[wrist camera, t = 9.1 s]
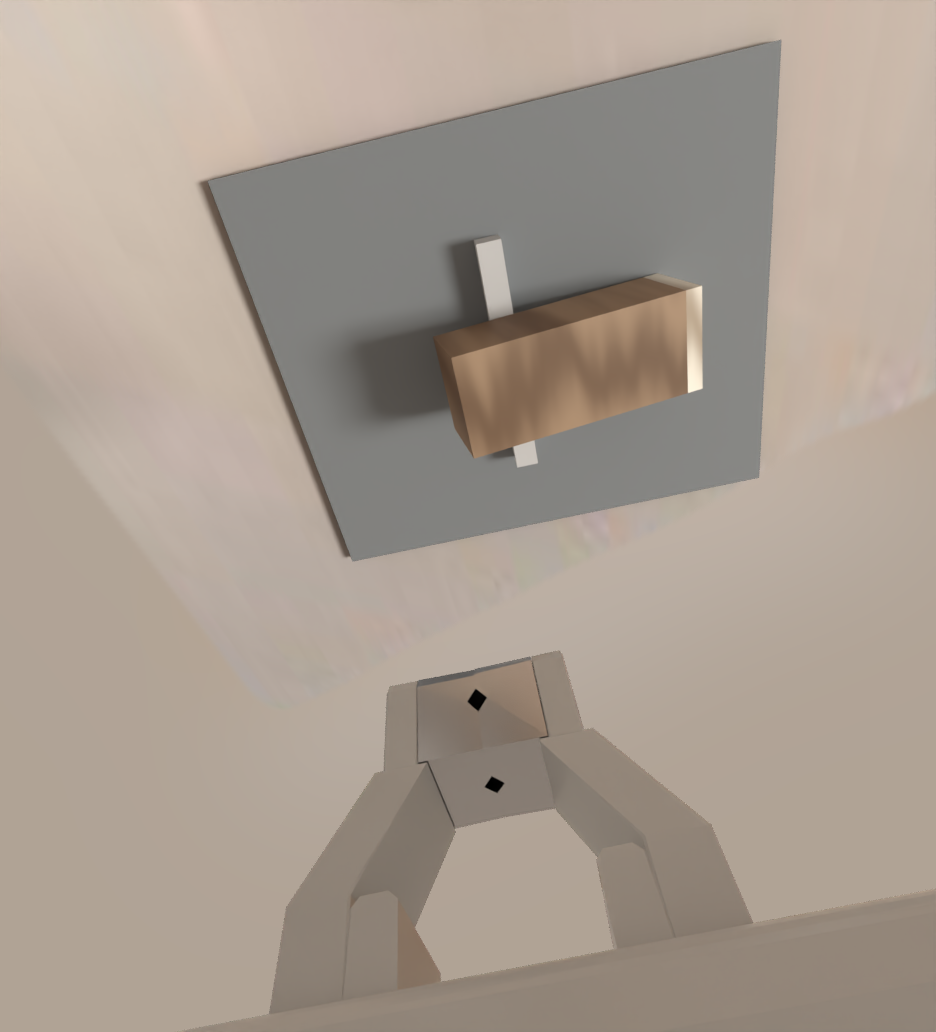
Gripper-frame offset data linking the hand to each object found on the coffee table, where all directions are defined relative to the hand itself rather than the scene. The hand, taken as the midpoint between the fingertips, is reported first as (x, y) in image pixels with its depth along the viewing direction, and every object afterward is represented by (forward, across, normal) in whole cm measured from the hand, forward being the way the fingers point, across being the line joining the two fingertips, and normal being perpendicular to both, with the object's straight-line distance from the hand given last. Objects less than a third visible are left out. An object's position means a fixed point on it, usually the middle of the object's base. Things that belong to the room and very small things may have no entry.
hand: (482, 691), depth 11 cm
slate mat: (+26, -4, +3) cm, 26 cm away
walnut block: (+21, 0, +3) cm, 21 cm away
